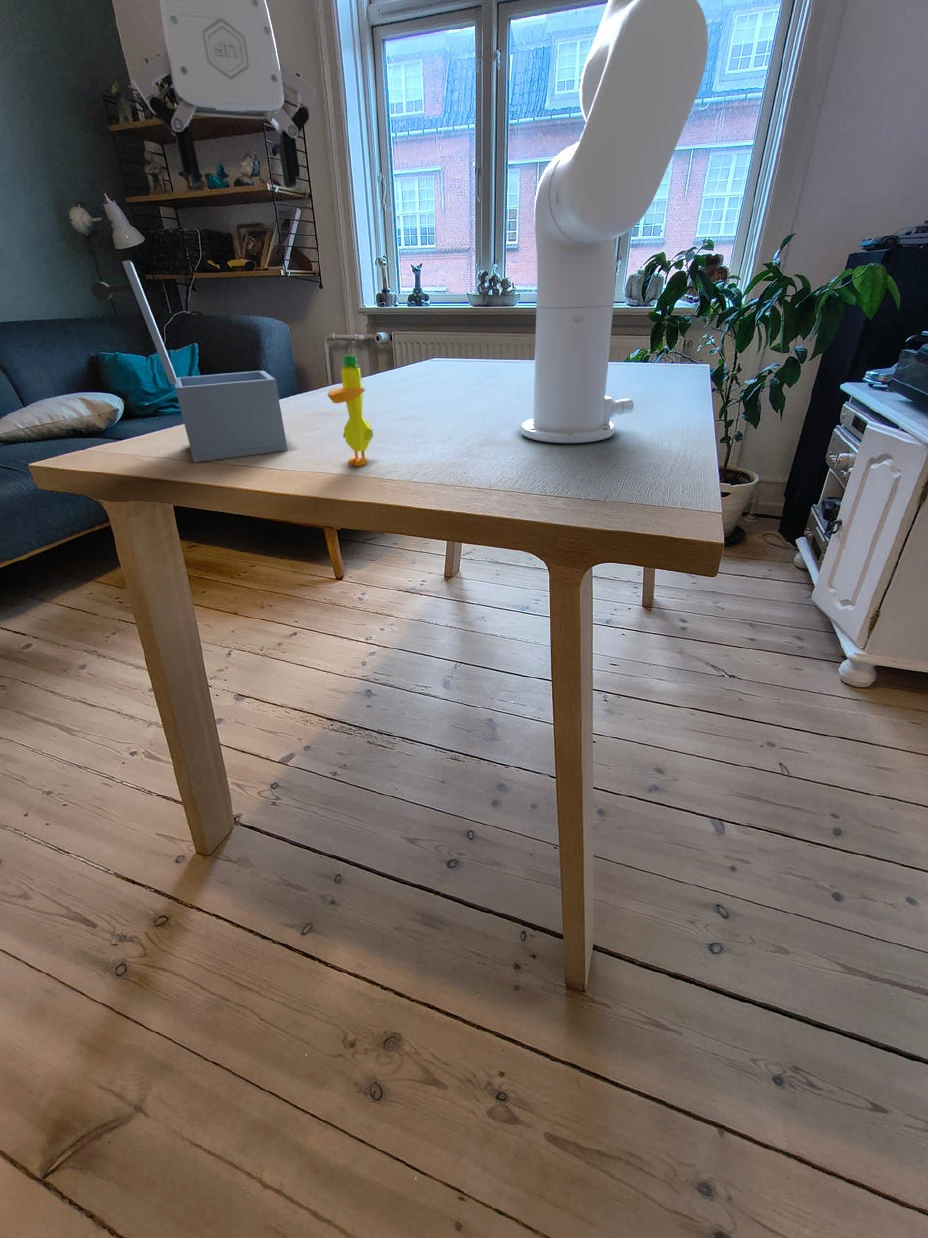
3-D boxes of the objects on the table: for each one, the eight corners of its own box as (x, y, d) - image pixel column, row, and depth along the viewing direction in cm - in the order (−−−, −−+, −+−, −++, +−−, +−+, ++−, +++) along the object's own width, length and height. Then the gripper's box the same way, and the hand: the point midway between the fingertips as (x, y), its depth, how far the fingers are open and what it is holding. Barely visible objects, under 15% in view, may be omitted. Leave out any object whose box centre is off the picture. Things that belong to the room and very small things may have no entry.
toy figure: (352, 473, 68) (338, 360, 62) (327, 469, 70) (311, 359, 64) (385, 458, 73) (375, 352, 67) (361, 455, 75) (350, 352, 69)
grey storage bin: (275, 435, 86) (263, 370, 81) (287, 450, 78) (275, 379, 74) (190, 445, 82) (172, 377, 77) (194, 462, 74) (175, 387, 70)
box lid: (132, 262, 70) (87, 270, 69) (130, 260, 63) (79, 268, 61) (174, 373, 77) (134, 382, 76) (177, 383, 70) (132, 392, 68)
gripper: (97, -81, 49) (157, 178, 57) (307, -47, 55) (333, 182, 63) (102, -41, 55) (156, 188, 63) (292, -14, 61) (317, 191, 69)
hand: (244, 185), depth 63 cm, fingers open, 9 cm apart
